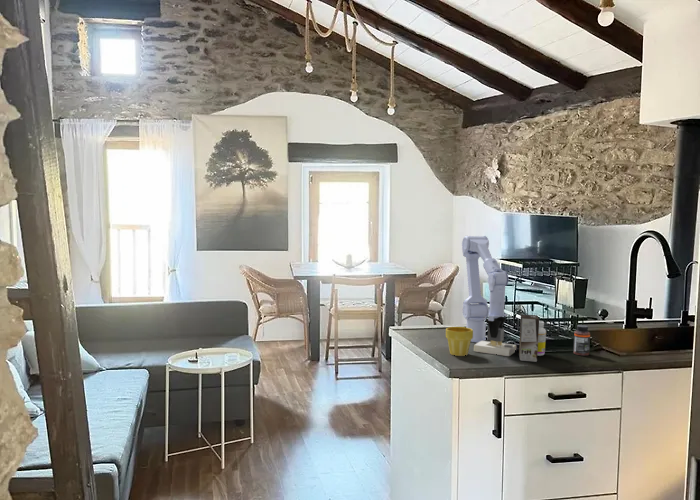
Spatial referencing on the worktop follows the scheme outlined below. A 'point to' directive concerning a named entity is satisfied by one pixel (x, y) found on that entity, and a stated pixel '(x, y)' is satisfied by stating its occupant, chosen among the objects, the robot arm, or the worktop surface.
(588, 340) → the supplement bottle
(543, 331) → the supplement bottle
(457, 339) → the plant pot
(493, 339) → the plug
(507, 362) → the worktop surface
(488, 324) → the robot arm
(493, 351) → the socket
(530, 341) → the coffee box
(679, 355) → the worktop surface
